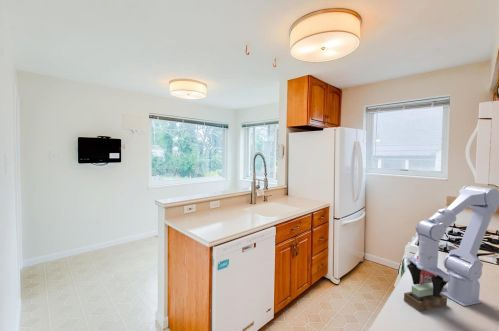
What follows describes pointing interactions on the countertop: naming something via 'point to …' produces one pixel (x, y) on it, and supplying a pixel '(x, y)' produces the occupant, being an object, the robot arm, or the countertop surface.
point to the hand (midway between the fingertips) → (425, 289)
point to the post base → (425, 301)
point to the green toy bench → (422, 290)
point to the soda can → (426, 276)
